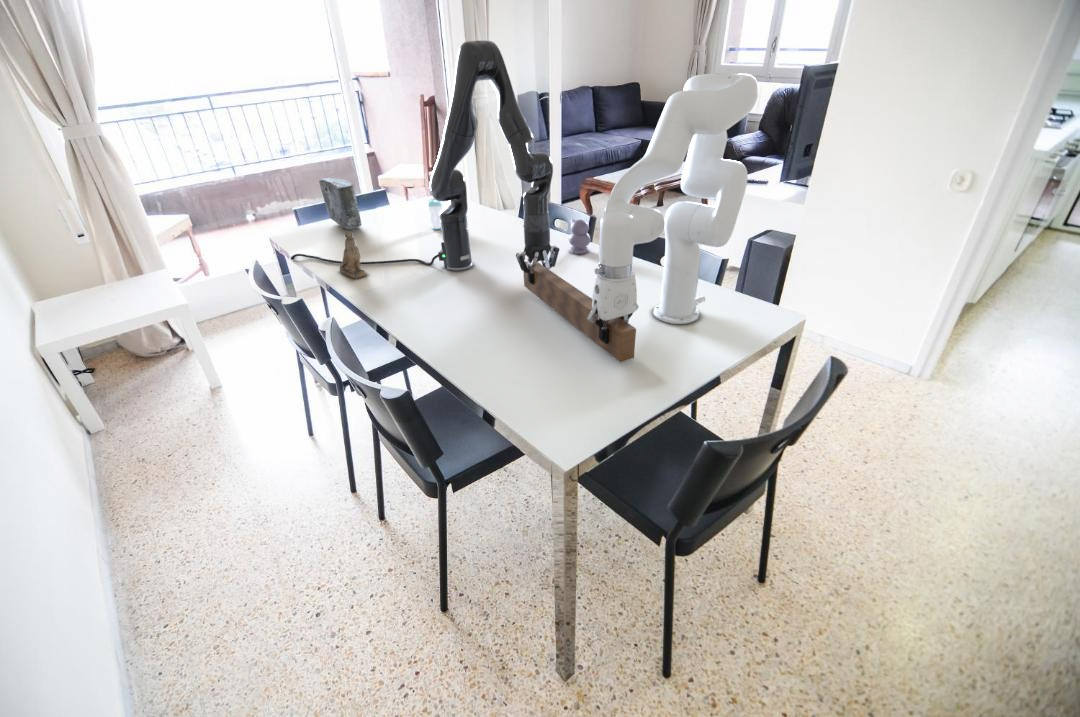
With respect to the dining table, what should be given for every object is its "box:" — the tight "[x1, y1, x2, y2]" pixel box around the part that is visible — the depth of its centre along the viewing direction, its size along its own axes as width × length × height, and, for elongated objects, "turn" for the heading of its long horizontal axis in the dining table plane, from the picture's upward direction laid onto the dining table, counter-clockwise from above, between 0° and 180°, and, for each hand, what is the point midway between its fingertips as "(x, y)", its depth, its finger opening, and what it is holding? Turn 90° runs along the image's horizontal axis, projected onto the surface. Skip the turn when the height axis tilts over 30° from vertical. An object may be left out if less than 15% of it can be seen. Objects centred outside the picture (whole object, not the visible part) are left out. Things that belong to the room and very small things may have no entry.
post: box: [523, 261, 637, 363], centre depth 137 cm, size 53×4×8 cm, turn 27°
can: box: [426, 198, 445, 230], centre depth 220 cm, size 7×7×12 cm
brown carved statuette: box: [339, 229, 367, 280], centre depth 174 cm, size 12×6×18 cm, turn 43°
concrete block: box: [318, 176, 362, 230], centre depth 224 cm, size 27×9×20 cm, turn 36°
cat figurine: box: [568, 218, 591, 255], centre depth 187 cm, size 8×8×12 cm
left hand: (538, 281), depth 153 cm, fingers closed on post, 4 cm apart
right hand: (612, 338), depth 123 cm, fingers closed on post, 4 cm apart
